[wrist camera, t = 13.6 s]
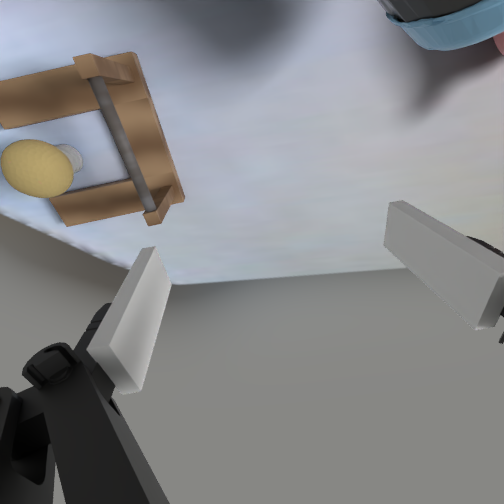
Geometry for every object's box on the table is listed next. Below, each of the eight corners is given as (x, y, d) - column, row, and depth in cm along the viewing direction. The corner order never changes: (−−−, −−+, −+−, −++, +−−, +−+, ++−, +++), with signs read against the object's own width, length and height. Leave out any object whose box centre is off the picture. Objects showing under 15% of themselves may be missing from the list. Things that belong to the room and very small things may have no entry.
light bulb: (40, 126, 33) (-23, 136, 24) (94, 139, 34) (51, 152, 26) (47, 175, 36) (-8, 198, 28) (96, 185, 37) (59, 210, 29)
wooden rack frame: (-10, 87, 30) (-127, 81, 20) (136, 54, 30) (91, 31, 20) (73, 221, 40) (21, 263, 30) (185, 197, 40) (171, 231, 29)
